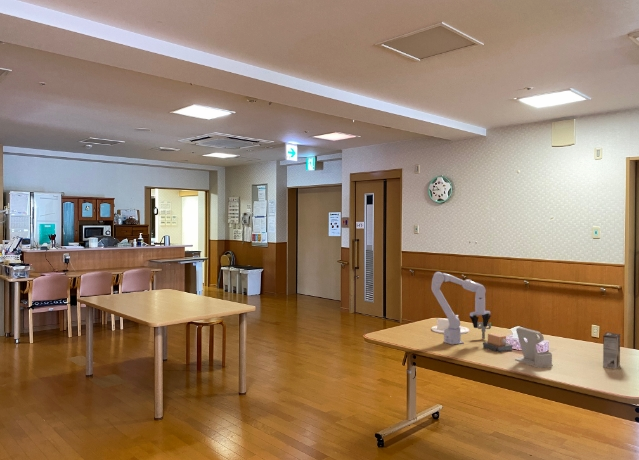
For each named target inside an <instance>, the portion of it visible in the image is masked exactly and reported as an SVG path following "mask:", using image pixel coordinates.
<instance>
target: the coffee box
mask: <svg viewBox="0 0 639 460" xmlns="http://www.w3.org/2000/svg"><path fill="white" fill-rule="evenodd" d="M602 338H603V339H602V340H603V341H602V343H603V344H602V350H603V351H602V367H603V368H606V367H608V368H607V369H612V368H614V369H613V370H618V369H617V368H619V367H620V366H621V334H620V333H614V332H609V331H607V332H605V333H604V334H603V335H602Z"/></svg>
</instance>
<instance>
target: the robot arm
mask: <svg viewBox="0 0 639 460" xmlns="http://www.w3.org/2000/svg"><path fill="white" fill-rule="evenodd" d="M443 282H444V283H446V282H451V283H454V284H457V285H460V286H462V288H463V290H464V289H465V290H467V291H469V292H472V293H475V297H474V299H475V301H474V305H475V306H474V310H475V311H471V312H469V318H470V320H471V323H472V326H473V328H474V329H478V328H477V322H479V316H481V317H482V322H483V326H484V327H486V328H488V326H487V325H489V321H490V318H491V317H492V315H491V311H490V310H486V293H487V290H486V287H485V286H484V285H483V284H482V283H479V282H475V281H472V279H465V280H463V279H462V278H458V277H457V276H454V275H452V274H448V273H446V272H441V271H435V272H434V273H433V276H432V279H431V288H430V289H431V291H432V294H433V295H434V297H435V299H436V300H437V302H438V304H439V305H440V307H441V309H442V311H443V312H444V315H446V319H448V320H449V324H450V325H449V326H448V329H445V331H444V334H443V338H444V339H443V343H445V344H449V345H458V344H464V343H465V342H464V341H461V339H462V338H461V337H462V336H461V335H462V334H461V327H459V326H461V321H460V318H459V316H458V317H457V316H456V314H455V313H454V311H453V310H452V308H451V306H450V305H449V302H448V301H447V299H446V298H445V296H444V294H443V292H442V290H441V285H443Z"/></svg>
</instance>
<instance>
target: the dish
mask: <svg viewBox="0 0 639 460" xmlns="http://www.w3.org/2000/svg"><path fill="white" fill-rule="evenodd" d="M455 316H457V317H458V318H459V314H455ZM449 325H450V324H449V320H448V318H441V317H440V318H436V325H433V326H432V327H431V331H433V332H434V333H438V334H443V335H444V331H445V329H448V326H449ZM459 327H461V335H464V334H468V333H470V328H469V327H466V326H462V325H460V326H459Z"/></svg>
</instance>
